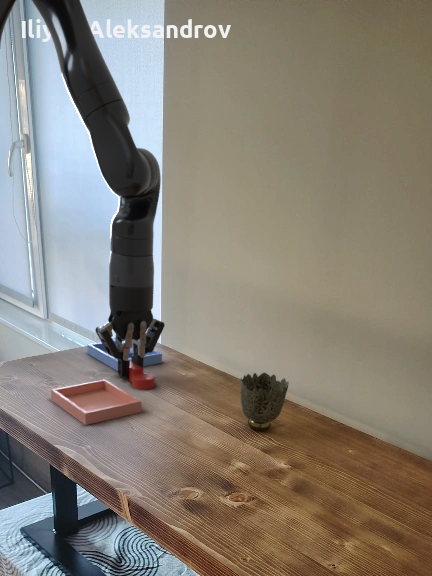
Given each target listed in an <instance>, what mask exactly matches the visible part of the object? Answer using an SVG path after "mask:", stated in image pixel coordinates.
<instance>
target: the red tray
mask: <svg viewBox="0 0 432 576" xmlns="http://www.w3.org/2000/svg"><path fill="white" fill-rule="evenodd" d="M50 399H51V400H50V401H51V402H53V403H55V404H56V405H57V406H59V407H60V408H61V409H63V410H64V411H66V412H67V414H70V416H73V417H74V418H75V419H77V420H78V421H79V422H81V423H82V424H83V425H85V426H88V425H92V424H95V423H100V422H103V421H109V420H113V419H117V418H122V417H125V416H129V415H130V416H131V415H134V414H138V413H142V400H140V399H139V398H137V397H135V396H134V395H131V394H130V393H128V392H127V391H125V390H124V389H122V388H120V387H118V386H117V385H116V384H114V383H112V382H111V381H109V380H107V379H105V378H104V379H98V380H94V381H89V382H84V383H78V384H73V385H68V386H63V387H58V388H52V389H50Z"/></svg>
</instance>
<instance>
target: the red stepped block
mask: <svg viewBox="0 0 432 576" xmlns="http://www.w3.org/2000/svg"><path fill="white" fill-rule="evenodd" d="M155 380H156V376H155V374H153V373H151V372H145V371H144V367H143V368H142V367H140V366H138V365H136V364H135V363H133V362H131V361H130V367H129V379H127V381H129V382H130V383H131V386H132V387H133V388H135V389H138V390H151V389H153V388H155V384H156V383H155V382H156V381H155Z"/></svg>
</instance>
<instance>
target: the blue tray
mask: <svg viewBox="0 0 432 576" xmlns="http://www.w3.org/2000/svg"><path fill="white" fill-rule="evenodd" d="M131 347H132V345H131ZM87 354H88V355H89V356H91V357H92V358H94V359H97V360H98V361H100V362H102V363H103V364H105V365H106V366H109V367H110V368H112V369H114V370H115V371H117V372H118V359H116V358H114V357H113V356H111V355H109V354H108V353H107V351H106V350H105V348H104V346H103V344H102V342H101V341H100V342H95V343H88V344H87ZM128 360H130V361H131V362H132V358H128ZM162 363H163V353H162V352H160V351H158V350H156V349H154V350H153V352H152V353H147V354H145V356H144V359H143V367H146V366H147V367H148V366H153V365H158V364H162Z"/></svg>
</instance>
